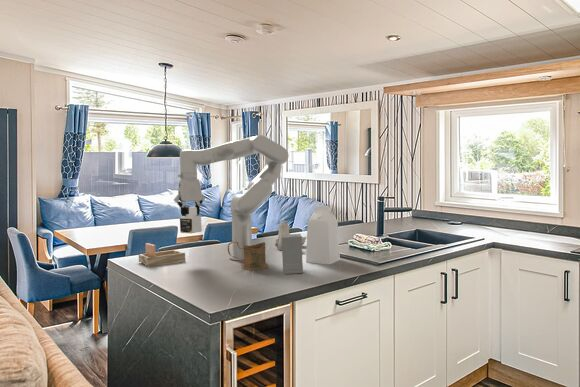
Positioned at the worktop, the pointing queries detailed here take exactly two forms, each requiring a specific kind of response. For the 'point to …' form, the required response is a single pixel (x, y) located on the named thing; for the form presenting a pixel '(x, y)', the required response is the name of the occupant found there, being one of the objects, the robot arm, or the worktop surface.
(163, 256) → the wooden tray
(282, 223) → the chinaware
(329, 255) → the milk
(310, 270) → the worktop surface
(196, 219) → the medicine bottle
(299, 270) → the skincare box
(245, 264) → the mug
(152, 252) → the pusher plate
